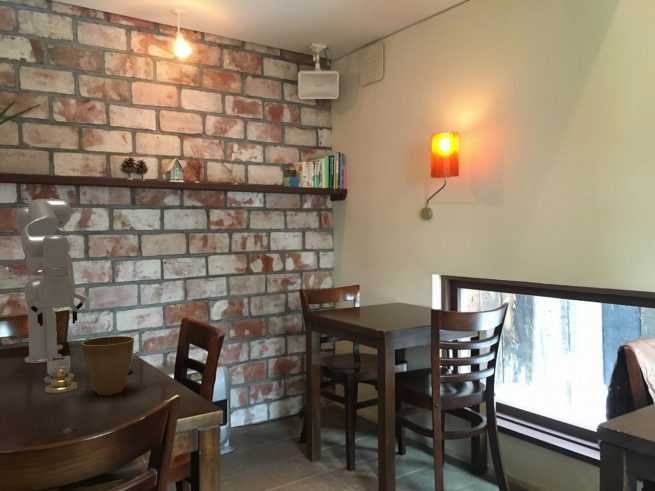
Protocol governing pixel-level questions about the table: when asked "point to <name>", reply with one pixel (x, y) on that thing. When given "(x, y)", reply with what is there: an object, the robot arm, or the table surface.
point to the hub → (61, 383)
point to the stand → (53, 376)
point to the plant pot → (108, 362)
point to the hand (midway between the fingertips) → (57, 324)
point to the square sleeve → (58, 364)
